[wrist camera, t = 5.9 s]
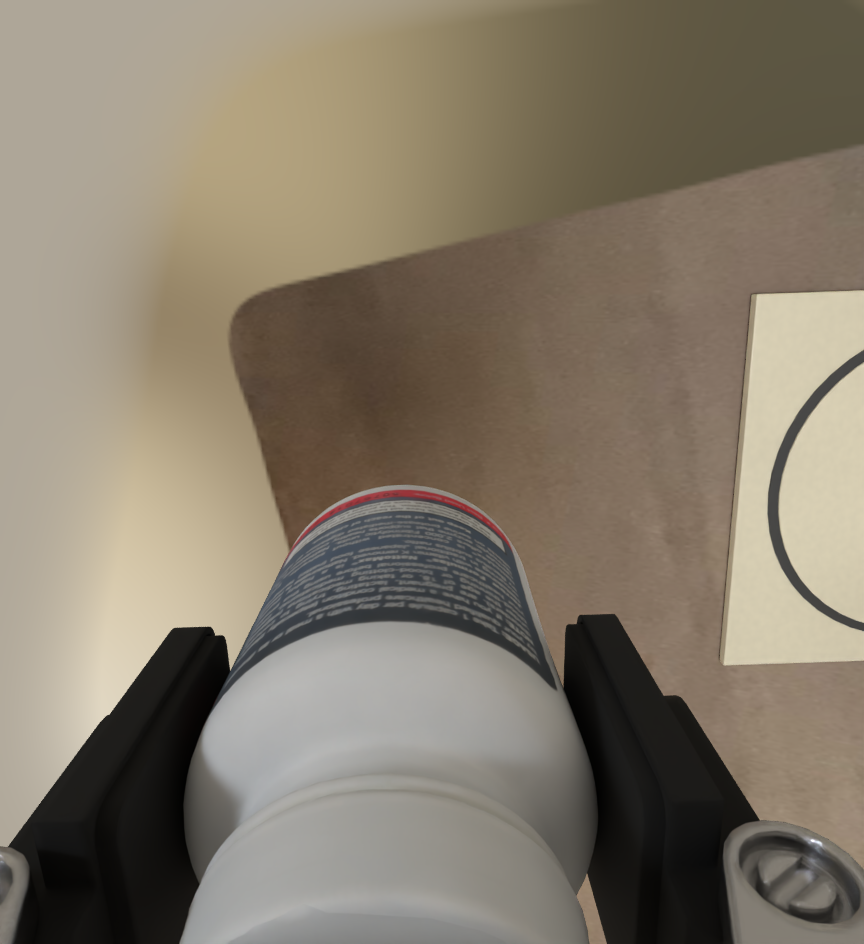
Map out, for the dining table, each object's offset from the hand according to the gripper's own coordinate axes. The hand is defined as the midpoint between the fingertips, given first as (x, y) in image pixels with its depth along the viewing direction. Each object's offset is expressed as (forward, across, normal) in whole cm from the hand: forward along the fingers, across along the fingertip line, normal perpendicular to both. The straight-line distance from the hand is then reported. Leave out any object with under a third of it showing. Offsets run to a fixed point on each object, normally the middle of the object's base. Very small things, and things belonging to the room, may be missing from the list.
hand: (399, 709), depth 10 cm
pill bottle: (+4, 0, 0) cm, 4 cm away
